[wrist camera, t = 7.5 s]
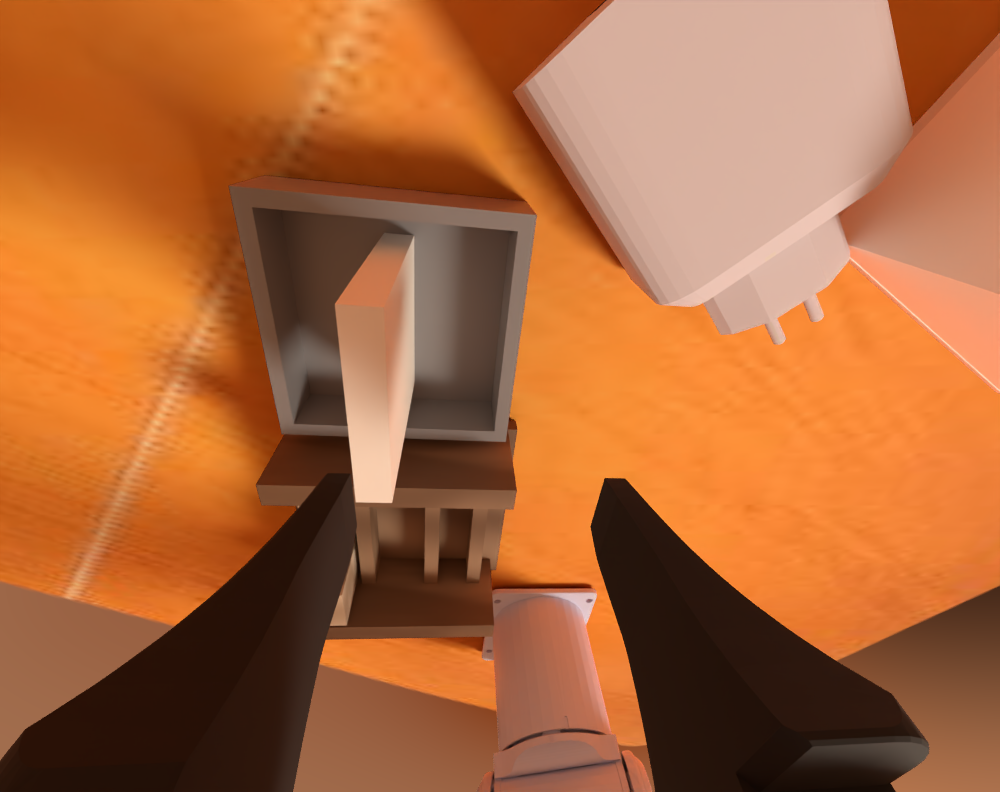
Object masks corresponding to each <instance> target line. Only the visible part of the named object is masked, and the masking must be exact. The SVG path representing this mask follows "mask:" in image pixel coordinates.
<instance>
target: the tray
mask: <svg viewBox="0 0 1000 792" xmlns="http://www.w3.org/2000/svg"><path fill="white" fill-rule="evenodd" d="M229 190H230V195H231V199H232V204H233V209H234V213H235V218H236V223H237V227H238V232H239V237H240V241H241V246H242V251H243V255H244V260H245V265H246V269H247V274H248V279H249V283H250V288H251V293H252V297H253V302H254V307H255V311H256V316H257V321H258V325H259V330H260V335H261V339H262V344H263V349H264V353H265V358H266V363H267V367H268V372H269V377H270V381H271V386H272V391H273V395H274V400H275V405H276V409H277V414H278V419H279V423H280V428H281V433H282V434H289V435H318V436H347V437H349V434H348V424H347V415H346V405H345V396H344V386H343V377H342V368H341V358H340V349H339V339H338V330H337V320H336V311H335V303H336V302H337V300H338V299H339V297H340V296H341V294H342V293H343V291H344V290H345V289H346V287H347V286H348V284H349V283H350V281H351V280H352V278H353V277H354V276H355V274H356V273H357V271H358V270H359V268H360V267H361V266H362V264H363V263H364V261H365V260H366V258H367V257H368V255H369V254H370V253H371V251H372V250H373V248H374V247H375V245H376V244H377V242H378V241H379V240H380V238H381V237H382V235H383V234H384V233H392V234H403V235H414V344H415V383H414V388H413V393H412V399H411V404H410V410H409V415H408V420H407V426H406V431H405V437H404V438H405V439H434V440H463V441H492V442H506V436H507V429H508V422H509V414H510V407H511V400H512V392H513V385H514V378H515V371H516V363H517V356H518V349H519V341H520V334H521V327H522V319H523V312H524V305H525V298H526V290H527V283H528V276H529V268H530V261H531V254H532V246H533V239H534V232H535V225H536V217H537V215H536V213H535V212H534V211H533V209H532V208H531V207H530V205H529V204H528V203H527V201H518V200H508V199H498V198H488V197H478V196H468V195H457V194H447V193H437V192H427V191H417V190H407V189H397V188H387V187H377V186H367V185H356V184H346V183H336V182H326V181H316V180H306V179H296V178H286V177H276V176H266V175H264V176H260V177H257V178H253V179H250V180H246V181H243V182H239V183H236V184H232V185H229Z"/></svg>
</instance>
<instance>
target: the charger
mask: <svg viewBox="0 0 1000 792" xmlns="http://www.w3.org/2000/svg"><path fill="white" fill-rule="evenodd" d="M512 93H513V94H514V96H515V97H516V99H517V100H518V102H519V104H520V105H521V107H522V108H523V110H524V112H525V113H526V115H527V116H528V118H529V119H530V121H531V123H532V124H533V126H534V127H535V129H536V130H537V132H538V134H539V135H540V137H541V138H542V140H543V141H544V143H545V145H546V146H547V148H548V149H549V151H550V152H551V154H552V156H553V157H554V159H555V160H556V162H557V163H558V165H559V167H560V168H561V170H562V171H563V173H564V174H565V176H566V178H567V179H568V181H569V182H570V184H571V185H572V187H573V189H574V190H575V192H576V193H577V195H578V196H579V198H580V200H581V201H582V203H583V204H584V206H585V207H586V209H587V211H588V212H589V214H590V215H591V217H592V218H593V220H594V222H595V223H596V225H597V226H598V228H599V229H600V231H601V233H602V234H603V236H604V237H605V239H606V240H607V242H608V244H609V245H610V247H611V248H612V250H613V251H614V253H615V255H616V256H617V258H618V259H619V261H620V263H621V264H622V266H623V267H624V269H625V270H626V272H627V274H628V275H629V277H630V278H631V280H632V281H633V282H634V283H635V284H637V285H638V286H639V287H640V288H641V289H642V290H643V291H644V292H645V293H646V294H647V295H648V296H649V297H650V298H651V299H652V300H653V301H654V302H655V303H656V304H659V305H669V306H687V307H693V306H697V305H700V304H702V303H703V304H704V305H705V307H706V309H707V311H708V313H709V314H710V316H711V318H712V320H713V322H714V323H715V325H716V327H717V329H718V331H719V333H720V334H721V335H727V334H735V333H738V332H741V331H744V330H747V329H750V328H753V327H757V326H760V325H763V324H765V326H766V329H767V331H768V333H769V335H770V337H771V339H772V341H773V343H774V344H782V343H783V342H784V341H785V340H786V337H785V335H784V333H783V330H782V328H781V326H780V324H779V322H778V320H777V318H778V317H779V316H781V315H783V314H784V313H786V312H787V311H789V310H791V309H792V308H794V307H795V306H797V305H799V304H800V303H802V302H803V303H804V306H805V308H806V310H807V313H808V315H809V318H810V320H811V321H812V322H817V321H820V320H821V319H822V318H823V316H824V314H823V312H822V309H821V306H820V304H819V301H818V299H817V296H816V293H818V292H819V291H821V290H823V289H824V288H826V287H827V286H828V285H829V284H830V283H831V282H832V281H833V279H834V278H835V277H836V276H837V275H838V273H839V272H840V271H841V270H842V268H843V267H844V266H845V265H846V264H847V262H848V261H849V259H850V249H849V246H848V243H847V240H846V237H845V234H844V230H843V227H842V224H841V221H840V218H839V214H838V213H839V212H841V211H842V210H844V209H845V208H847V207H848V206H850V205H851V204H853V203H854V202H856V201H857V200H859V199H860V198H861V197H863V196H864V195H866V194H867V193H869V192H870V191H872V190H873V189H874V188H876V187H877V186H878V185H879V184H880V183H882V181H883V180H884V179H885V178H886V176H887V174H888V173H889V171H890V170H891V168H892V167H893V165H894V163H895V162H896V160H897V159H898V157H899V156H900V154H901V152H902V151H903V149H904V148H905V146H906V145H907V143H908V141H909V140H910V138H911V137H912V134H913V126H912V121H911V116H910V111H909V106H908V101H907V96H906V91H905V86H904V81H903V76H902V70H901V65H900V60H899V55H898V50H897V45H896V40H895V35H894V30H893V25H892V20H891V14H890V9H889V4H888V0H607V1H606V0H605V1H604V2H603V3H602V4H601V5H600V6H599V7H598V8H597V9H596V10H595V11H594V12H592V13H591V14H590V15H589V16H588V17H587V18H586V19H585V20H584V21H583V22H582V23H581V24H580V25H579V26H578V27H577V28H576V29H575V30H574V31H573V32H572V33H571V34H570V35H569V36H568V37H567V38H566V39H565V40H564V41H563V42H562V43H561V44H560V45H559V46H558V47H557V48H556V49H555V50H554V51H553V52H552V53H551V54H550V55H549V56H548V57H547V58H546V59H545V60H544V61H543V62H542V63H541V64H540V65H539V66H538V67H537V68H536V69H535V70H534V71H533V72H532V73H531V74H530V75H529V76H528V77H527V78H526V79H525V80H524V81H523V82H522V83H521V84H520V85H519V86H518V87H517V88H516V89H515V90H514V91H513V92H512Z"/></svg>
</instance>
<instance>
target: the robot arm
mask: <svg viewBox="0 0 1000 792" xmlns="http://www.w3.org/2000/svg"><path fill="white" fill-rule="evenodd" d="M356 529H357V519H356V512H355V504H354V496H353V488H352V480H351V474H350V473H327V474H326V475H325V476H324V477H323V478H322V479H321V481H320V482H319V483H318V484H317V486H316V487H315V488H314V489H313V491H312V492H311V493H310V494H309V496H308V497H307V498H306V499H305V501H304V502H303V503H302V504H301V505H300V506H299V508H298V509H297V510H296V511H295V512H294V514H293V515H292V516H291V517H290V518H289V519H288V520H287V521H286V522H285V524H284V525H283V526H282V527H281V528H280V529H279V530H278V531H277V533H276V534H275V535H274V536H273V537H272V538H271V539H270V540H269V541H268V542H267V543H266V544H265V545H264V546H263V547H262V548H261V549H260V550H259V551H258V552H257V553H256V554H255V555H254V557H253V558H252V559H251V560H250V561H249V562H248V563H247V564H246V565H245V566H244V567H242V568H241V569H240V570H239V571H238V572H237V573H236V574H235V575H234V576H233V577H232V578H231V579H230V580H229V581H228V582H227V583H225V584H224V585H223V586H222V587H221V588H220V589H219V590H218V591H216V592H215V593H214V594H213V595H212V596H211V597H210V598H208V599H207V600H206V601H205V602H204V603H203V604H201V605H200V606H199V607H198V608H197V609H195V610H194V611H193V612H192V613H190V614H189V615H188V616H187V617H186V618H184V619H183V620H182V621H181V622H180V623H178V624H177V625H176V626H175V627H173V628H172V629H171V630H170V631H168V632H167V633H166V634H164V635H163V636H162V637H160V638H159V639H158V640H157V641H155V642H154V643H152V644H151V645H150V646H148V647H147V648H145V649H144V650H143V651H141V652H140V653H139V654H137V655H136V656H134V657H133V658H132V659H130V660H129V661H128V662H126V663H125V664H123V665H122V666H121V667H119V668H118V669H117V670H115V671H114V672H112V673H111V674H109V675H108V676H107V677H105V678H104V679H102V680H101V681H100V682H98V683H96V684H95V685H93V686H92V687H90V688H89V689H88V690H86V691H84V692H83V693H81V694H79V695H78V696H76V697H75V698H74V699H72V700H70V701H69V702H67V703H66V704H64V705H62V706H61V707H60V708H58V709H56V710H55V711H53V712H52V713H50V714H49V715H47V716H46V717H44V718H42V719H41V720H39V721H38V722H36V723H34V724H33V725H31V726H30V727H28V728H27V729H25V730H24V732H23V733H22V734H21V735H20V737H19V738H18V739H17V740H16V742H15V743H14V744H13V745H12V747H11V748H10V749H9V750H8V751H7V753H6V754H5V755H4V757H3V758H2V759H1V761H0V792H293V789H294V784H295V779H296V772H297V768H298V762H299V757H300V752H301V747H302V741H303V737H304V732H305V727H306V722H307V717H308V713H309V708H310V703H311V698H312V693H313V689H314V685H315V680H316V675H317V671H318V666H319V662H320V658H321V654H322V651H323V647H324V643H325V640H326V637H327V634H328V630H329V627H330V624H331V621H332V618H333V615H334V611H335V608H336V605H337V602H338V599H339V596H340V592H341V589H342V586H343V583H344V580H345V576H346V573H347V570H348V567H349V563H350V560H351V555H352V550H353V545H354V540H355V534H356ZM591 531H592V536H593V542H594V547H595V552H596V556H597V561H598V564H599V567H600V570H601V573H602V576H603V579H604V582H605V586H606V589H607V592H608V595H609V598H610V601H611V604H612V607H613V610H614V613H615V616H616V619H617V622H618V625H619V628H620V631H621V634H622V637H623V640H624V644H625V647H626V651H627V654H628V659H629V663H630V667H631V672H632V676H633V680H634V685H635V689H636V694H637V698H638V703H639V708H640V713H641V717H642V722H643V727H644V732H645V737H646V742H647V748H648V753H649V758H650V764H651V768H652V774H653V780H654V786H655V792H895V790H894V788H893V787H892V785H891V784H890V783H891V782H893V781H894V780H896V779H897V778H899V777H900V776H902V775H903V774H905V773H906V772H908V771H910V770H911V769H913V768H914V767H916V766H917V765H918V764H920V763H921V762H922V761H924V760H925V758H926V756H927V755H928V754H929V744H928V742H927V740H926V739H925V738H924V736H923V735H922V734H921V732H920V731H919V730H918V728H917V727H916V726H915V724H914V723H913V722H912V720H911V719H910V718H909V716H908V715H907V714H906V712H905V711H904V710H903V708H902V707H901V706H900V704H899V703H898V702H897V700H896V699H895V698H894V696H893V695H892V694H891V693H889V692H888V691H886V690H884V689H882V688H881V687H879V686H877V685H875V684H874V683H872V682H871V681H869V680H867V679H866V678H864V677H862V676H861V675H859V674H857V673H855V672H854V671H852V670H850V669H849V668H847V667H845V666H843V665H841V664H840V663H839V662H837V661H835V660H834V659H832V658H831V657H829V656H828V655H826V654H825V653H823V652H822V651H820V650H819V649H817V648H815V647H814V646H812V645H811V644H809V643H808V642H806V641H805V640H803V639H802V638H800V637H799V636H797V635H796V634H795V633H793V632H792V631H790V630H789V629H787V628H786V627H785V626H783V625H782V624H780V623H779V622H778V621H776V620H775V619H774V618H772V617H771V616H770V615H768V614H767V613H766V612H764V611H763V610H762V609H760V608H759V607H757V606H756V605H755V604H754V603H752V602H751V601H750V600H749V599H747V598H746V597H745V596H743V595H742V594H741V593H740V592H739V591H737V590H736V589H735V588H734V587H733V586H731V585H730V584H729V583H728V582H727V581H726V580H724V579H723V578H722V577H721V576H720V575H718V574H717V573H716V572H715V571H714V570H713V569H712V568H711V567H709V566H708V565H707V564H706V563H705V562H704V561H703V560H702V559H701V558H700V557H699V556H698V555H697V554H696V553H695V552H694V551H693V550H691V549H690V548H689V547H688V546H687V545H686V544H685V543H684V542H683V541H682V540H681V539H680V538H679V537H678V536H677V535H676V533H675V532H674V531H673V530H672V529H671V528H670V527H669V526H668V525H667V524H666V523H665V522H664V521H663V520H662V519H661V518H660V517H659V516H658V514H657V513H656V512H655V511H654V510H653V509H652V508H651V507H650V506H649V505H648V503H647V502H646V501H645V500H644V499H643V498H642V497H641V496H640V495H639V493H638V492H637V491H636V490H635V489H634V488H633V487H632V486H631V485H630V483H629V482H628V481H627V480H626V479H621V478H605V479H604V483H603V486H602V489H601V493H600V496H599V500H598V503H597V506H596V510H595V513H594V517H593V520H592V523H591ZM596 597H597V593H596V590H595V589H592V588H565V589H495V590H493V591H492V598H493V615H494V629H493V635H492V637H484V643H483V649H482V658H483V659H484V660H494V669H495V687H496V705H497V723H498V741H499V752H495V753H494V754H493V758H494V771H491V772H487V773H485V775H484V776H483V779H482V782H481V783H480V785H479V787H478V789H477V792H653V791H652V788H651V785H650V782H649V779H648V776H647V773H646V771H645V768H644V766H643V764H642V762H641V761H640V760H639V759H638V758H636V757H635V756H634V755H633V754H632V752H631V751H629V750H626V751H621V756H620V752H619V748H618V743H617V739H616V735H615V734H612V733H611V729H610V725H609V721H608V717H607V713H606V708H605V704H604V700H603V696H602V692H601V688H600V683H599V679H598V675H597V671H596V667H595V663H594V659H593V654H592V650H591V646H590V642H589V638H588V634H587V629H586V624H587V621H588V619H589V616H590V613H591V611H592V608H593V605H594V603H595V600H596Z"/></svg>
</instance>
